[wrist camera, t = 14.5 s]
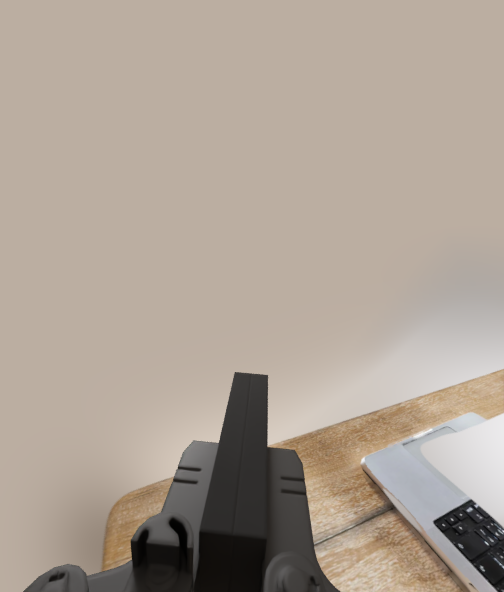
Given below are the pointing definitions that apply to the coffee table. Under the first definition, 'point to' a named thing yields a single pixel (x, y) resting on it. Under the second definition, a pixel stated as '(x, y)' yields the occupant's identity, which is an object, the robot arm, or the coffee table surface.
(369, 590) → the coffee table surface
